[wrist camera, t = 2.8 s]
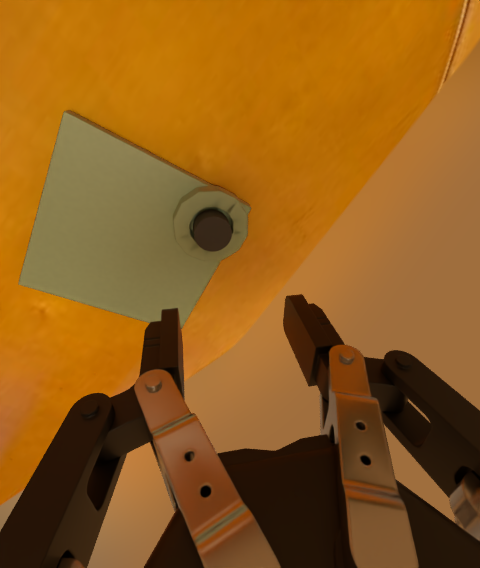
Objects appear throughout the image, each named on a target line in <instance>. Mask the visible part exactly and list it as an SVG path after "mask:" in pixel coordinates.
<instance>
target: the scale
mask: <svg viewBox="0 0 480 568" xmlns="http://www.w3.org/2000/svg"><path fill="white" fill-rule="evenodd" d="M210 209H213V210H218V211H220V212H222V213H223V214H224V215H225V216H226V217H227V219H228V221H229V224H230V226H231V229H232V238H231V240H230V242H229V244H228V245H227V246H226V247H225V248H223V249H222V250H219V251H215V252H211V251H206V250H204V249H202V248H201V247H199V246H198V244H197V243H196V241H195V238H194V231H193V223H194V220H195V218H196V217H197V216H198V215H199V214H200V213H201V212H203V211H205V210H210ZM250 210H251V207H250V205H249V204H248V203H246V202H244V201H243V200H241V199H239V198H237V196H236V195H235V194H233V193H231V192H229V191H227V190H226V189H224V188H222V187H220V186H214V185H212V184H210V183H208V182H206V181H204V180H202V179H200V178H198V177H197V176H195V175H193V174H191V173H189V172H187V171H185V170H183V169H181V168H179V167H177V166H175V165H174V164H172V163H170V162H168V161H166V160H164V159H162V158H160V157H158V156H156V155H154V154H152V153H151V152H149V151H147V150H145V149H143V148H141V147H139V146H137V145H135V144H133V143H131V142H129V141H127V140H126V139H124V138H122V137H120V136H118V135H116V134H114V133H112V132H110V131H108V130H106V129H104V128H103V127H101V126H99V125H97V124H95V123H93V122H91V121H89V120H87V119H85V118H83V117H81V116H80V115H78V114H76V113H74V112H72V111H70V110H67V111H64V113H63V116H62V120H61V124H60V128H59V132H58V135H57V139H56V143H55V147H54V151H53V154H52V158H51V162H50V166H49V169H48V173H47V177H46V181H45V185H44V188H43V192H42V196H41V200H40V204H39V207H38V211H37V215H36V219H35V222H34V226H33V230H32V234H31V238H30V241H29V245H28V249H27V253H26V257H25V260H24V264H23V268H22V272H21V275H20V279H19V283H18V284H19V285H22V286H26V287H29V288H33V289H36V290H39V291H43V292H46V293H50V294H53V295H56V296H60V297H63V298H67V299H70V300H73V301H77V302H80V303H84V304H87V305H90V306H94V307H97V308H101V309H104V310H107V311H111V312H114V313H118V314H121V315H124V316H128V317H131V318H135V319H138V320H141V321H145V322H148V323H150V322H154V321H161V311H162V309H171V308H178V311H179V318H180V325H181V329H182V327H183V325H184V324H185V322H186V320H187V319H188V317H189V315H190V313H191V312H192V310H193V308H194V306H195V305H196V303H197V301H198V300H199V298H200V296H201V294H202V293H203V291H204V289H205V287H206V286H207V284H208V282H209V281H210V279H211V277H212V275H213V274H214V272H215V270H216V268H217V267H218V265H219V263H220V262H221V260H223V259H225V258H227V257H228V256H230V255H232V254H233V253H235V252H237V251H238V250H239V249H240V247H241V245H242V244H243V242H244V240H245V239H246V237H247V234H248V213H249V211H250Z"/></svg>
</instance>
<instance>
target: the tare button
mask: <svg viewBox="0 0 480 568" xmlns="http://www.w3.org/2000/svg"><path fill="white" fill-rule="evenodd" d="M193 231H194V238H195V241H196V243H197V244H198V246H199V247H201V248H202V249H204V250H206V251H211V252H215V251H219V250H222V249H223V248H225V247H226V246H227V245H228V244H229V242H230V240H231V238H232V229H231V226H230V224H229V221H228V219H227V217H226V216H225V215H224V214H223V213H222V212H220V211H218V210H213V209H210V210H205V211H203V212H201V213H200V214H199V215H198V216H197V217H196V218H195V220H194V223H193Z"/></svg>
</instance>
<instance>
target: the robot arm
mask: <svg viewBox="0 0 480 568" xmlns="http://www.w3.org/2000/svg"><path fill="white" fill-rule="evenodd" d="M283 326H284V331H285V334H286V336H287V338H288V340H289V343H290V345H291V347H292V350H293V351H294V354H295V356H296V359H297V361H298V363H299V365H300V368H301V370H302V372H303V374H304V376H305V379H306V381H307V383H308V386H315V385H317V386H318V388H319V390H320V424H321V426H320V427H321V435H319V436H314V437H308V438H302V439H299V440H297V441H296V442H293V443H291V444H289V445H287V446H285V447H283V448H281V449H279V450H276V451H269V450H258V449H240V450H234V451H229V452H223V453H218V455H217V453H216V451H215V449H214V447H213V445H212V443H211V442H210V440H209V438H208V436H207V434H206V432H205V430H204V429H203V427H202V425H201V423H200V421H199V419H198V418H197V416H196V415H195V414H194V413H191V412H190V410H189V409H188V407H187V405H186V403H185V401H184V370H183V342H182V332H181V325H180V318H179V311H178V308H171V309H162V311H161V321H154V322H150V324H149V325H148V327H147V328H146V330H145V335H144V344H143V352H142V360H141V369H140V375H139V378H138V379H137V381H136V383H135V384H134V385H133V386H132V387H131V388H130V389H128V390H126V391H125V392H123V393H120V394H118V395H115V396H113V397H111V398H109V397H108V396H107V395H105V394H103V393H93V394H90V395H87V396H85V397H83V398H81V399H80V400H78V401H77V402H76V403H75V404H74V405H73V406H72V408H71V409H70V411H69V413H68V414H67V416H66V418H65V420H64V421H63V423H62V425H61V427H60V428H59V430H58V432H57V434H56V435H55V437H54V439H53V441H52V442H51V444H50V446H49V448H48V449H47V451H46V453H45V454H44V456H43V458H42V460H41V461H40V463H39V465H38V467H37V468H36V470H35V472H34V474H33V475H32V477H31V479H30V481H29V482H28V484H27V486H26V488H25V489H24V491H23V493H22V495H21V496H20V498H19V500H18V502H17V503H16V505H15V507H14V509H13V510H12V512H11V514H10V516H9V517H8V519H7V521H6V523H5V524H4V526H3V528H2V529H1V532H0V568H87V566H88V563H89V560H90V557H91V555H92V552H93V549H94V546H95V543H96V540H97V537H98V535H99V532H100V529H101V526H102V523H103V520H104V517H105V515H106V512H107V509H108V506H109V503H110V501H111V498H112V495H113V492H114V489H115V486H116V483H117V481H118V478H119V475H120V472H121V469H122V466H123V463H124V461H125V458H126V455H127V453H128V452H130V451H132V450H134V449H136V448H138V447H140V446H142V445H144V444H146V443H148V442H150V444H151V446H152V449H153V452H154V455H155V457H156V460H157V462H158V466H159V468H160V471H161V474H162V476H163V479H164V482H165V485H166V488H167V491H168V494H169V497H170V500H171V503H172V506H173V508H174V511H175V513H174V515H173V517H172V519H171V520H170V522H169V524H168V526H167V528H166V529H165V531H164V533H163V534H162V536H161V538H160V540H159V541H158V543H157V545H156V547H155V548H154V550H153V552H152V554H151V556H150V557H149V559H148V561H147V563H146V564H145V566H144V568H480V411H479V410H478V409H477V408H476V407H475V406H473V405H472V404H471V403H470V402H469V401H467V400H466V399H465V398H464V397H463V396H461V395H460V394H459V393H458V392H457V391H455V390H454V389H453V388H451V387H450V386H449V385H448V384H447V383H446V382H444V381H443V380H442V379H441V378H440V377H438V376H437V375H436V374H435V373H434V372H432V371H431V370H430V369H429V368H427V367H426V366H425V365H424V364H423V363H421V362H420V361H419V360H418V359H417V358H415V357H414V356H412V355H411V354H409V353H406V352H403V351H398V350H394V351H389V352H388V353H386V355H385V357H384V359H375V358H367V357H363V355H362V354H361V352H360V351H358V350H357V349H356V348H354V347H352V346H348V345H345V344H344V342H343V341H342V339H341V338H340V336H339V335H338V333H337V332H336V330H335V329H334V327H333V326H332V325H331V323H330V321H329V320H328V318H327V317H326V315H325V313H324V312H323V311H322V309H321V308H319V307H318V306H316V305H315V304H308V303H307V301H306V299H305V298H304V296H303V295H302V294H300V295H291V296H286V299H285V308H284V319H283ZM408 399H409V400H410V401H411V402H412V403H413V404H415V405H416V406H417V407H418V408H419V409H420V410H421V411H422V412H423V413H424V414H425V415H426V416H427V418H428V419H429V421H430V423H429V421H427V420H426V419H425V418H424V417H423V416H422V415H421V414H420V413H419V412H418V411H417V410H416V409H415V408H414V407H413V406H412V405H411V404H410V403H409V402H408ZM383 423H384V424H383ZM384 425H385V426H386V427H387V428H388V429H389V430H390V431H391V432H392V434H393V435H394V436H395V437H396V438H397V439H398V440H399V442H400V443H401V444H402V445H403V446H404V447H405V448H406V449H407V451H408V452H409V453H410V454H411V455H412V456H413V457H414V458H415V460H416V461H417V462H418V463H419V464H420V465H421V466H422V468H423V469H424V470H425V471H426V472H427V473H428V475H429V476H430V477H431V478H432V479H433V480H434V481H435V482H436V484H437V485H438V486H439V487H440V488H441V489H442V490H443V491H444V493H445V494H446V495H447V496H448V497H449V498H450V500H449V501H450V506H451V509H452V511H453V513H454V515H455V522H456V523H454V522H453V521H452V520H450V519H449V518H447V517H446V516H445V515H443V514H442V513H441V512H439V511H438V510H437V509H435V508H434V507H433V506H431V505H430V504H428V503H427V502H426V501H424V500H423V499H421V498H420V497H419V496H418V495H416V494H415V493H413V492H412V491H411V490H409V489H408V488H407V487H405V486H404V485H403V484H401V483H400V482H399V481H397V480H396V479H395V475H394V470H393V466H392V461H391V456H390V452H389V447H388V442H387V438H386V433H385V428H384Z"/></svg>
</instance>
